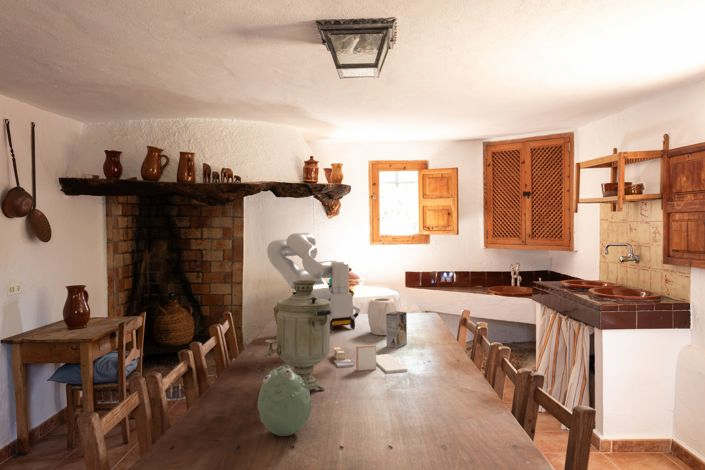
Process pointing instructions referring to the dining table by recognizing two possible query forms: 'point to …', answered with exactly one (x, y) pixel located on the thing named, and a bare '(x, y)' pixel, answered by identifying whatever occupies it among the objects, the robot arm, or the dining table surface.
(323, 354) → the samovar
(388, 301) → the white faceted vase
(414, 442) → the dining table surface
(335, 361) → the turner
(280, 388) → the pale green egg shape
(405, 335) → the coffee box
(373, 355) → the tile
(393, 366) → the board
